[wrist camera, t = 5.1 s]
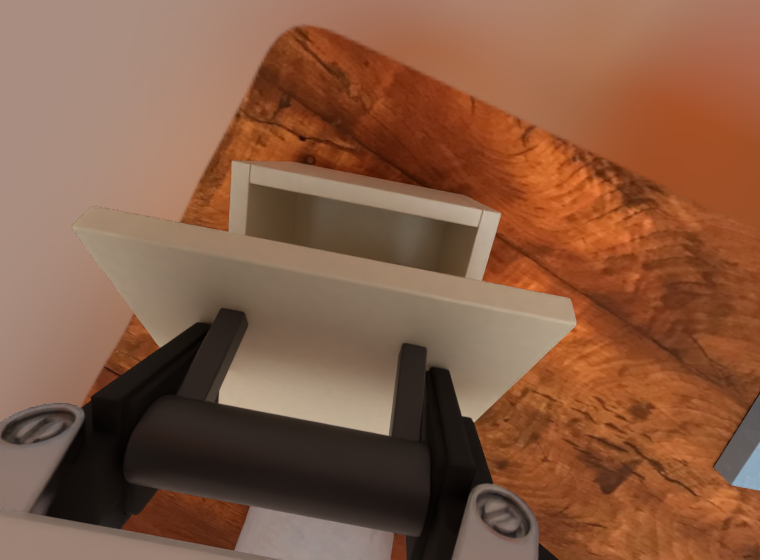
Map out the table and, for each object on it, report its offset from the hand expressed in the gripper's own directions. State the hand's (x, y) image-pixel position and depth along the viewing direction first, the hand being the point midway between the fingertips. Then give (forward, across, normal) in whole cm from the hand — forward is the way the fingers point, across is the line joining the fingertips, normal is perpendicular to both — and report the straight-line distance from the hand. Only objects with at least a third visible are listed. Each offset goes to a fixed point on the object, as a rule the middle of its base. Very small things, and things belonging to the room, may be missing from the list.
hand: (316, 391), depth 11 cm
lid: (+3, 0, +1) cm, 3 cm away
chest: (+15, 0, 0) cm, 15 cm away
